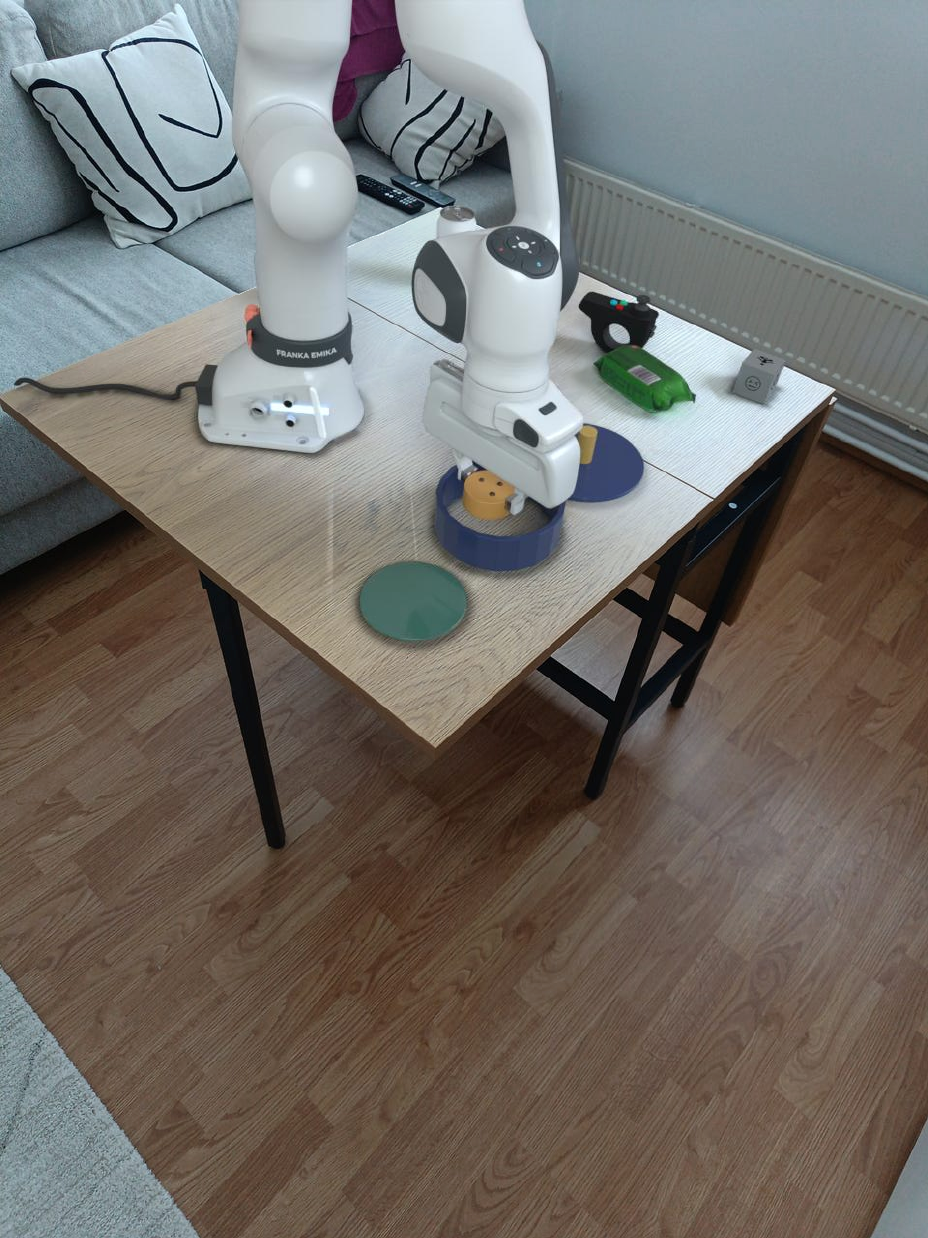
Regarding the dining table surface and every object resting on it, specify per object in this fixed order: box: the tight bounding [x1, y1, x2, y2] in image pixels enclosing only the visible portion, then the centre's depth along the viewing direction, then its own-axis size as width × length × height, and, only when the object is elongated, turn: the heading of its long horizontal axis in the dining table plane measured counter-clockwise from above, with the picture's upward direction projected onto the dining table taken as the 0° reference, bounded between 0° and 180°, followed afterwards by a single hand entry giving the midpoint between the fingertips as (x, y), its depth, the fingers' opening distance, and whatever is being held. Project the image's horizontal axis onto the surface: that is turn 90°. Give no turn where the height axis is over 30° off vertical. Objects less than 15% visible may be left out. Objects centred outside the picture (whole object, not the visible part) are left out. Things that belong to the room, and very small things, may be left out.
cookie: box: [462, 470, 515, 521], centre depth 102 cm, size 6×6×3 cm
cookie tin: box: [433, 461, 567, 572], centre depth 106 cm, size 15×15×6 cm
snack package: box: [593, 345, 697, 414], centre depth 128 cm, size 7×16×5 cm, turn 35°
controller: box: [577, 291, 660, 354], centre depth 134 cm, size 4×12×10 cm, turn 61°
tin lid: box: [567, 422, 645, 503], centre depth 115 cm, size 16×16×6 cm
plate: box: [359, 561, 468, 643], centre depth 98 cm, size 12×12×1 cm
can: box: [435, 205, 477, 239], centre depth 144 cm, size 6×6×12 cm
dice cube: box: [731, 348, 787, 405], centre depth 130 cm, size 5×5×5 cm
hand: (489, 495), depth 102 cm, fingers closed on cookie, 6 cm apart
